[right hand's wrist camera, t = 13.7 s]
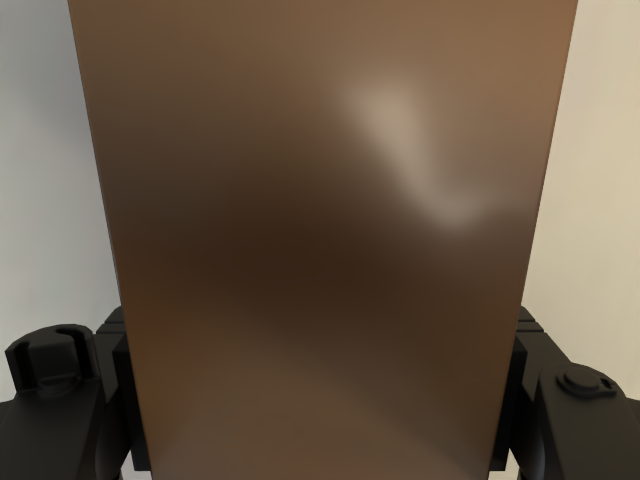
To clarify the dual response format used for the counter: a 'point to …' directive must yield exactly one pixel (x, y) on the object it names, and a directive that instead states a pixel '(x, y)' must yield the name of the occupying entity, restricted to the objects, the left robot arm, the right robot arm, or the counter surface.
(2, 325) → the counter surface
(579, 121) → the counter surface
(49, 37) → the counter surface
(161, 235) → the post
